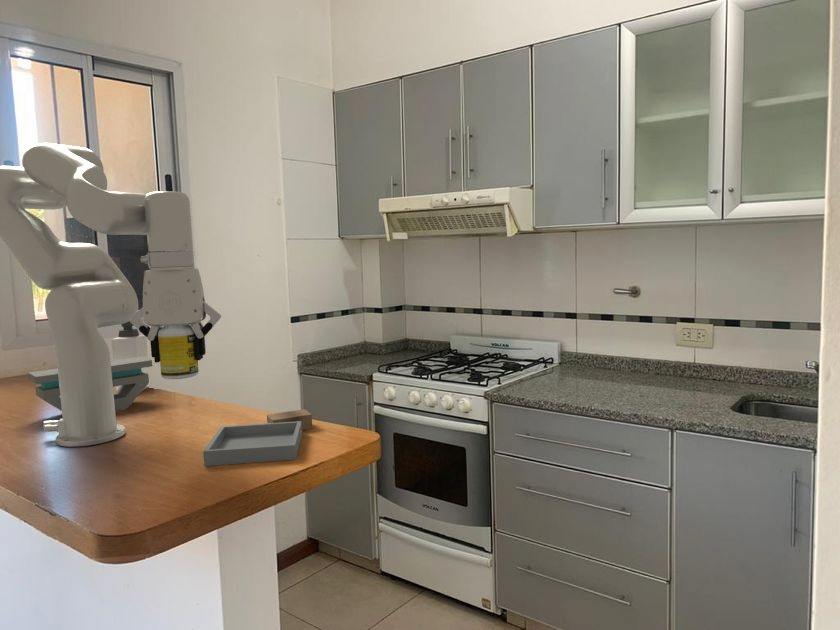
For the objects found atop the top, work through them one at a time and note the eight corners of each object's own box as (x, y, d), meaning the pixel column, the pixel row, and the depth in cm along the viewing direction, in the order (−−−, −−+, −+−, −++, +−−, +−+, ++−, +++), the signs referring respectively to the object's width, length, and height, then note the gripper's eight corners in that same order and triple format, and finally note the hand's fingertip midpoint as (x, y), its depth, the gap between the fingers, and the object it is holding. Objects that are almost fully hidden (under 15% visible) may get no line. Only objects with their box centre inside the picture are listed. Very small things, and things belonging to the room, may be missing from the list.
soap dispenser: (111, 394, 171) (104, 312, 169) (127, 387, 180) (120, 308, 178) (136, 393, 171) (128, 311, 169) (150, 386, 180) (143, 307, 178)
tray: (204, 466, 111) (203, 451, 111) (221, 439, 127) (221, 426, 126) (295, 459, 113) (294, 445, 112) (302, 433, 128) (301, 421, 128)
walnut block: (273, 435, 128) (272, 420, 128) (267, 429, 133) (266, 414, 132) (312, 428, 132) (311, 414, 131) (305, 423, 136) (304, 409, 136)
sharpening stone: (40, 425, 143) (35, 376, 141) (33, 419, 148) (28, 372, 147) (155, 403, 159) (151, 360, 158) (144, 398, 165) (140, 356, 164)
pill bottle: (186, 380, 114) (181, 315, 113) (153, 380, 115) (148, 315, 114) (205, 373, 120) (201, 311, 119) (174, 372, 122) (169, 311, 120)
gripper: (113, 264, 111) (122, 366, 113) (217, 260, 113) (224, 361, 115) (128, 262, 118) (136, 359, 120) (225, 259, 120) (231, 354, 122)
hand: (179, 359), depth 117 cm, fingers closed on pill bottle, 6 cm apart
